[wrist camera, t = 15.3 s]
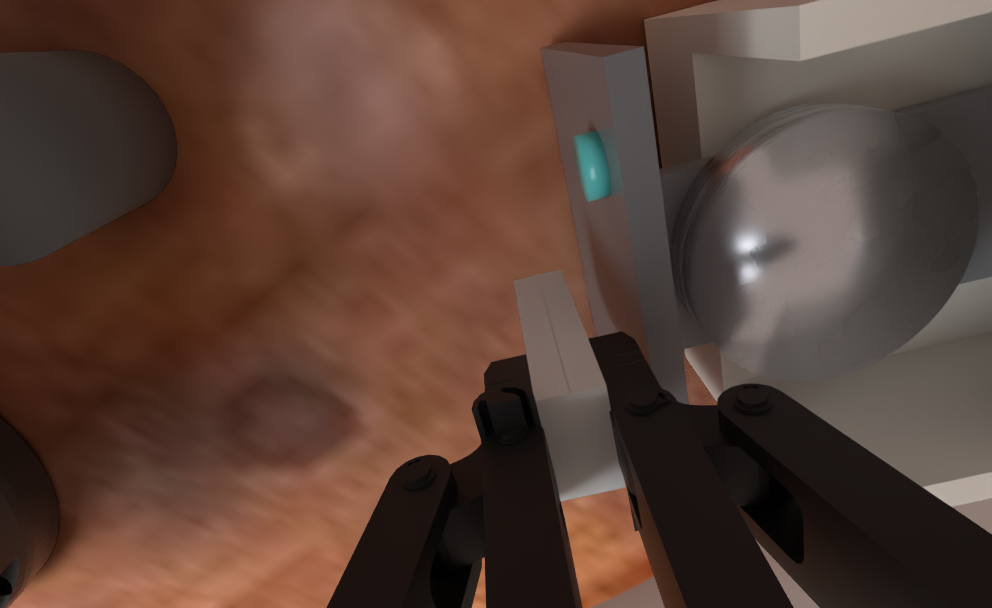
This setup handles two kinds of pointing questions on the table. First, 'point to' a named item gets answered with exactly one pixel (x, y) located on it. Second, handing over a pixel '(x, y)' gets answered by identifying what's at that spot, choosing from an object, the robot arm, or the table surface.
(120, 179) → the stand
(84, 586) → the table surface
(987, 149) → the grey plate and rod
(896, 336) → the disc
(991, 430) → the housing
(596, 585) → the table surface
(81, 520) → the table surface
